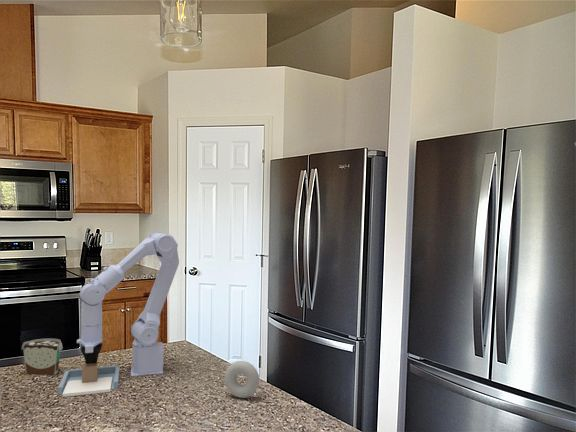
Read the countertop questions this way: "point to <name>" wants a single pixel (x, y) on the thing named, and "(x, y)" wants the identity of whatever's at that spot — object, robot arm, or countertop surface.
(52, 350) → the food container
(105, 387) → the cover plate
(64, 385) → the open box
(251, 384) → the donut
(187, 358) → the countertop surface
